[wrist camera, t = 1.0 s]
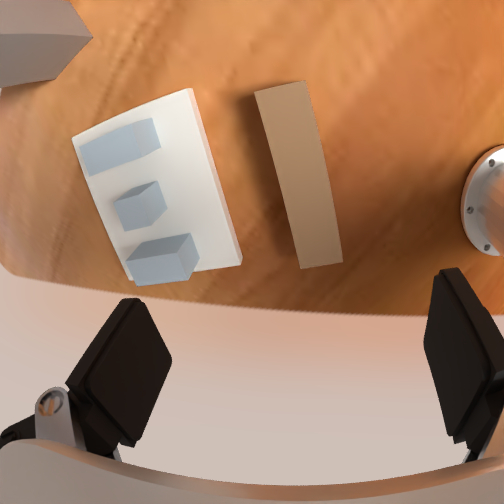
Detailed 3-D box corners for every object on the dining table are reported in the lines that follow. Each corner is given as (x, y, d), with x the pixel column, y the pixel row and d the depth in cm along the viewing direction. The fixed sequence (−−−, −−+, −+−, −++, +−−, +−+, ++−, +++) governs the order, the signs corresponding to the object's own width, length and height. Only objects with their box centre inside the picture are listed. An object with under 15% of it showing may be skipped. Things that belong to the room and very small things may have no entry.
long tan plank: (304, 81, 24) (305, 80, 21) (339, 241, 31) (343, 262, 28) (260, 91, 25) (253, 92, 22) (300, 248, 32) (300, 269, 29)
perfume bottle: (69, 1, 21) (-63, -6, 5) (93, 37, 23) (-53, 39, 8) (34, 43, 23) (-92, 60, 8) (55, 79, 26) (-80, 111, 10)
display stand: (192, 88, 25) (168, 89, 21) (242, 257, 34) (232, 288, 29) (79, 135, 29) (47, 147, 24) (134, 273, 37) (114, 300, 32)
